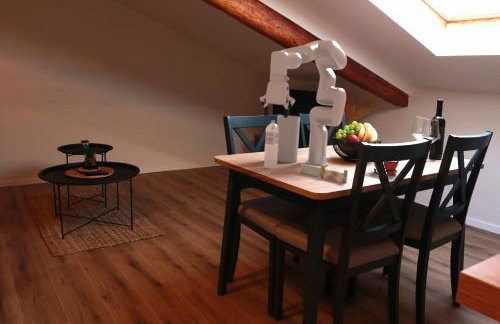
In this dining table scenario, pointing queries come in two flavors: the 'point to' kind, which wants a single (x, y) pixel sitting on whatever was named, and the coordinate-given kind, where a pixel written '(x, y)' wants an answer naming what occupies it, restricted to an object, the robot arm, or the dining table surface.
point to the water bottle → (271, 146)
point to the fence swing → (310, 170)
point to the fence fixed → (334, 175)
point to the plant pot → (390, 167)
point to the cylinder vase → (288, 138)
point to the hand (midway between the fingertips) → (276, 116)
